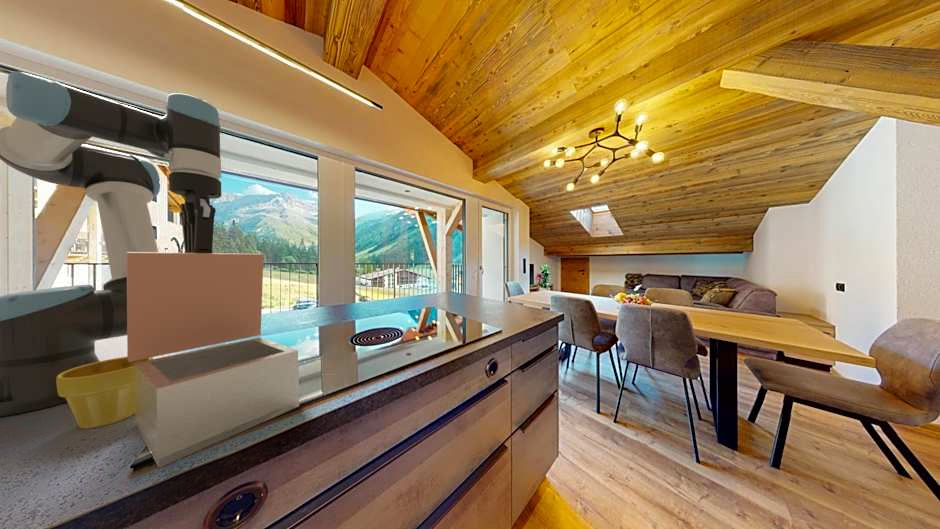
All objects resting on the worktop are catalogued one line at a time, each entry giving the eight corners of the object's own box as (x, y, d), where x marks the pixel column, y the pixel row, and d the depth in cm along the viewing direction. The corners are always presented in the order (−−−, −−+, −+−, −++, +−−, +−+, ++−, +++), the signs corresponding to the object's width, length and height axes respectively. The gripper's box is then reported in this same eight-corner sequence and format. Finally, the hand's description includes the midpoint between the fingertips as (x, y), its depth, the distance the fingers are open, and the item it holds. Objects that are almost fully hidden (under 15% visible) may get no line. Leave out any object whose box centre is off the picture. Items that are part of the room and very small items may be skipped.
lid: (128, 361, 46) (125, 355, 47) (260, 335, 62) (254, 331, 64) (127, 252, 44) (124, 250, 46) (263, 254, 60) (256, 252, 62)
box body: (135, 426, 46) (133, 363, 46) (260, 384, 61) (259, 337, 61) (158, 468, 36) (156, 389, 36) (299, 406, 52) (298, 350, 52)
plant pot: (83, 440, 42) (81, 380, 42) (41, 432, 44) (39, 374, 44) (168, 405, 52) (167, 356, 52) (131, 400, 55) (129, 353, 54)
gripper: (161, 177, 55) (164, 290, 55) (177, 164, 48) (181, 293, 48) (210, 185, 61) (213, 286, 62) (231, 175, 54) (234, 289, 55)
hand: (199, 289), depth 55 cm, fingers closed
